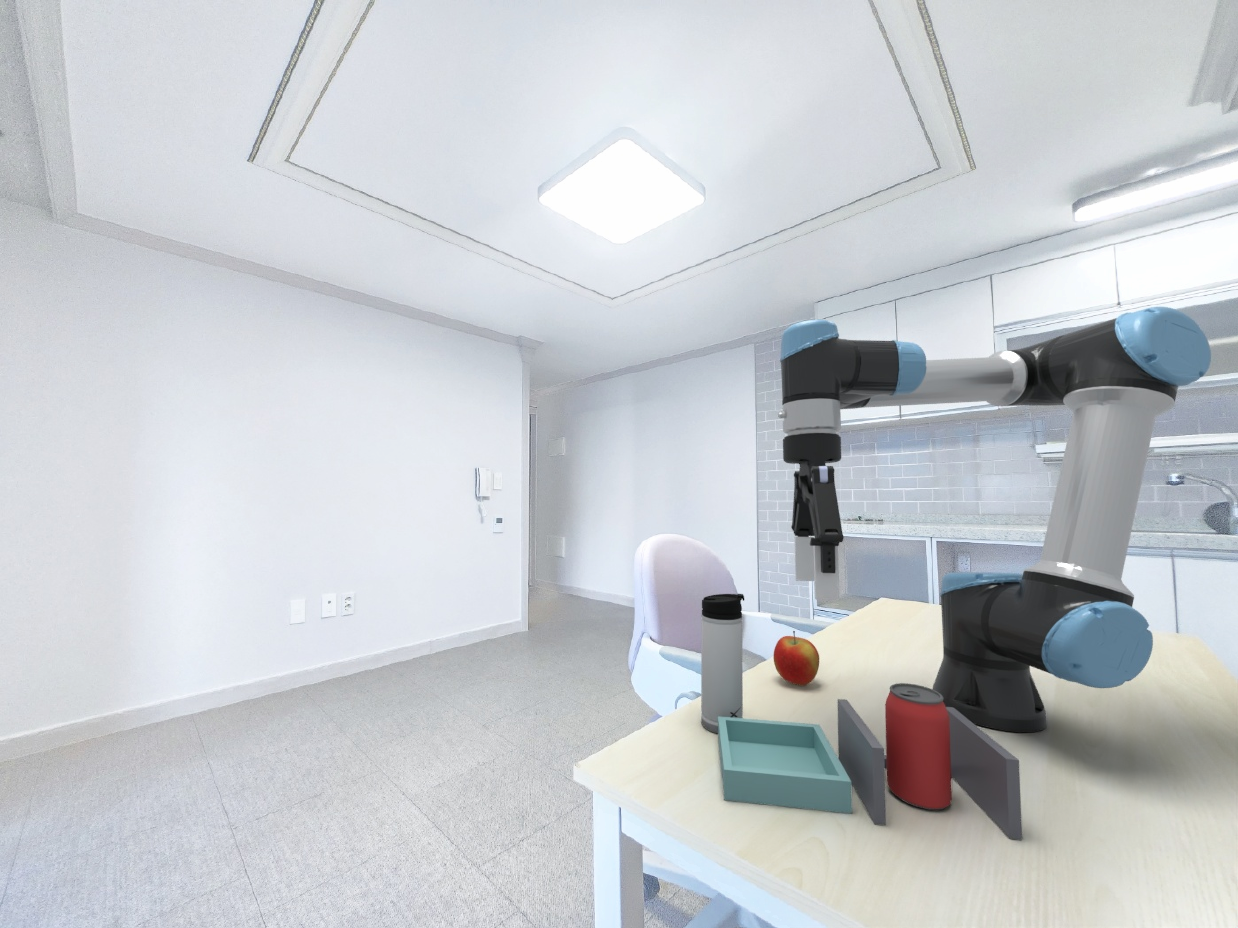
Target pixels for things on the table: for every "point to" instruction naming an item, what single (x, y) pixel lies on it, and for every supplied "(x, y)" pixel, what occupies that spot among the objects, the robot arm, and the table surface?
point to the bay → (973, 767)
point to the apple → (796, 660)
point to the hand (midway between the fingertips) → (815, 589)
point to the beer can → (918, 746)
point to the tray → (781, 765)
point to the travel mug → (721, 659)
